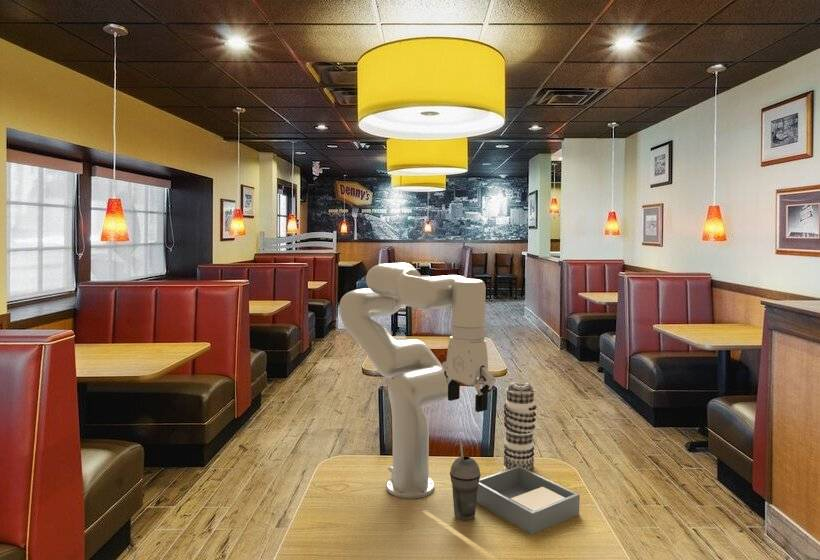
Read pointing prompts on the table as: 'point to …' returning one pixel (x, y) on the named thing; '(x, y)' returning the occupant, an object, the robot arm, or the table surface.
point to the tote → (519, 481)
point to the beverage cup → (464, 486)
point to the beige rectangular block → (537, 498)
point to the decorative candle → (519, 426)
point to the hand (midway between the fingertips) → (467, 405)
